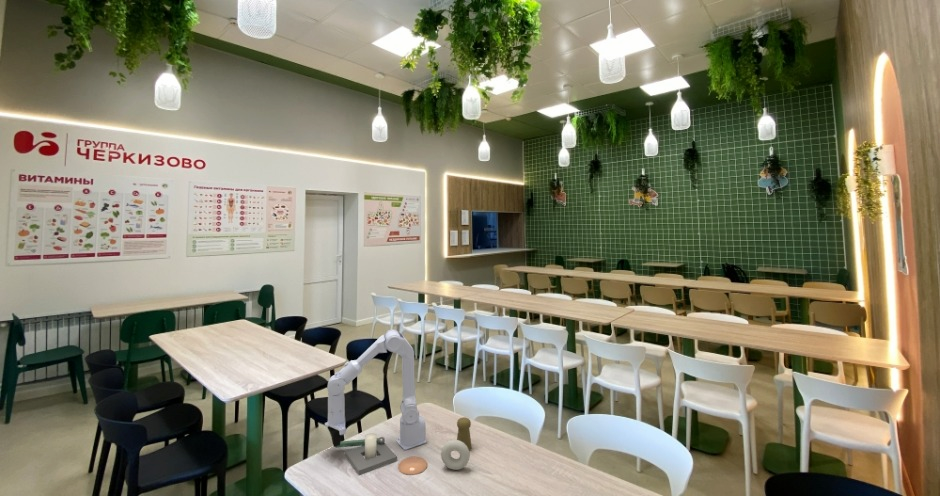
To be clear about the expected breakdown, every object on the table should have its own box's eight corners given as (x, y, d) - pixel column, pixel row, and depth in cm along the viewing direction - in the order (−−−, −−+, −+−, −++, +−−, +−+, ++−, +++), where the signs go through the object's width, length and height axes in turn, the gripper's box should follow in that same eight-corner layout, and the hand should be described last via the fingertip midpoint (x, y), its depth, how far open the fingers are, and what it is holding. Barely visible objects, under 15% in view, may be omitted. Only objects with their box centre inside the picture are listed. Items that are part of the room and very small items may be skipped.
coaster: (418, 454, 141) (418, 453, 141) (432, 467, 132) (432, 466, 132) (393, 463, 135) (393, 462, 135) (406, 478, 127) (406, 477, 127)
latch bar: (384, 441, 147) (384, 436, 147) (384, 444, 144) (384, 440, 144) (336, 445, 143) (336, 441, 143) (335, 448, 141) (335, 444, 141)
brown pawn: (470, 453, 142) (470, 423, 141) (454, 451, 143) (454, 422, 142) (473, 444, 148) (473, 416, 147) (457, 442, 149) (457, 414, 148)
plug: (373, 453, 141) (373, 432, 141) (378, 458, 138) (378, 436, 137) (363, 457, 138) (363, 435, 138) (367, 462, 135) (367, 440, 135)
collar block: (381, 443, 148) (381, 439, 148) (397, 460, 137) (397, 456, 137) (344, 455, 140) (344, 451, 139) (358, 475, 128) (358, 470, 128)
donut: (470, 467, 133) (470, 438, 133) (468, 473, 130) (469, 444, 129) (441, 464, 134) (442, 436, 134) (439, 470, 131) (440, 441, 131)
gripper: (319, 404, 144) (319, 440, 144) (331, 419, 132) (331, 458, 133) (338, 399, 148) (338, 434, 148) (351, 414, 136) (351, 451, 137)
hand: (336, 445), depth 141 cm, fingers closed
